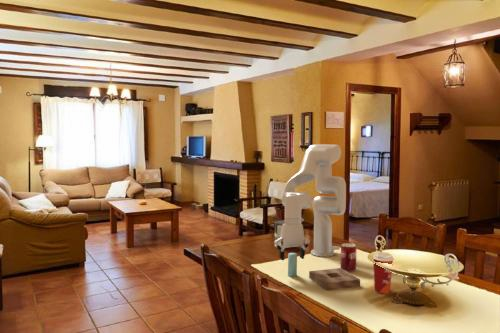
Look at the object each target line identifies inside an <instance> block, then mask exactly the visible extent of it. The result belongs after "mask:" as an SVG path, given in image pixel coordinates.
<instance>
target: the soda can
mask: <svg viewBox="0 0 500 333" xmlns="http://www.w3.org/2000/svg"><path fill="white" fill-rule="evenodd" d="M357 249H358V247H357V245H356V244H354V243H351V242H350V243H348V242H347V243H346V242H345V243H342V244H341V245H340V268H342V269H343V270H345V271H347V272H349V273H351V272H355V271H357V253H358V252H357Z"/></svg>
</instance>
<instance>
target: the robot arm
mask: <svg viewBox="0 0 500 333" xmlns="http://www.w3.org/2000/svg"><path fill="white" fill-rule="evenodd" d="M303 154H304V155H303V158H302V161H301V164H300V168H299V171H298V172H297V173H296V174H295V175H293V176H292V177H290V178H289V180H288V181H287V182H286V184H285V186H284V189H283V192H282V196H281V203H282V205H283V207H284V220H285V221H284V224H283V225H282V229H281V237H280V238H279V239H277V240H276V241H275V240H274V242H273V243H274V245H276V248H277V250H279V253H278V254H279V259H280V260H282V261H285V251H284V250H285V249H287V248H286V247H289V248H294V247H295V248H297V247H300V248H299V258H300V259H302V260H303V259H305V257H306V255H305V254H306V253H305V252H306V250H307V248H308V247H309V244H310V242H311V239H309V238H308V237H305V234H304V233H305V232H304V226H303V224H302V222H304V221H305V219H304V218H303V217H302V210H307V209H309V208H310V207H311V206H312V210H313V218H314V219H313V249H311V251H310V254H311V255H313V256H316V257H321V258H323V257H325V258H327V257H332V256H335V250H336V251H339V250H341V246H338V245H337V246H336V245H332V243H333V242H332V241H333V239H332V237H333V236H332V235H333V222H332V219H331V217H330V215H335V216H342V215H344V214H345V213H346V208H347V207H346V206H347V184H346V179H344V177H342V176H338V175H337V176H336V175H335V176H333V174H332V172H333V170H332V169H333V167H332V165H333V164H335V163H336V162H338V161H340V158H341V156H342V149H341V147H340V145H339V144H336V143H335V144H330V143H329V144H328V143H327V144H325V143H323V144H322V143H317V144H316V143H315V144H311V145H309V146H308V147H307V149H306V150H305V152H304V153H303ZM314 180H315V191H316V192H317V193H319V194H324V195H318V196H316V197H314V198H313V196H312V195H311V194H310V193H309V192H304V191H303V192H302V191H294V190H295V189H296V188H298V187H300V186H302V185H304V184H305V185H306V184H307V183H309V182H313V181H314ZM325 194H327V195H325ZM330 195H335V196H330ZM279 242H280V244H281V246H279V244H278V243H279Z"/></svg>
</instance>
